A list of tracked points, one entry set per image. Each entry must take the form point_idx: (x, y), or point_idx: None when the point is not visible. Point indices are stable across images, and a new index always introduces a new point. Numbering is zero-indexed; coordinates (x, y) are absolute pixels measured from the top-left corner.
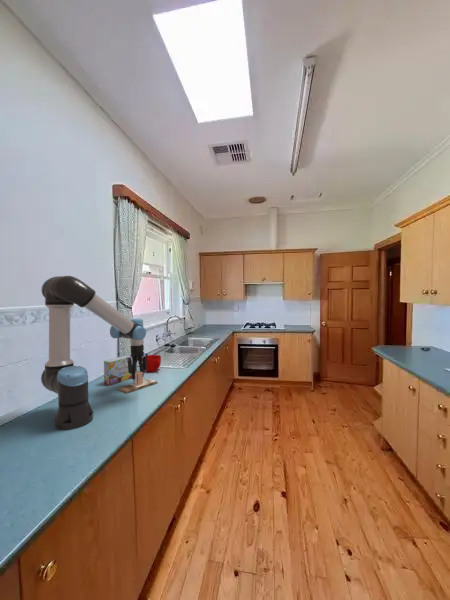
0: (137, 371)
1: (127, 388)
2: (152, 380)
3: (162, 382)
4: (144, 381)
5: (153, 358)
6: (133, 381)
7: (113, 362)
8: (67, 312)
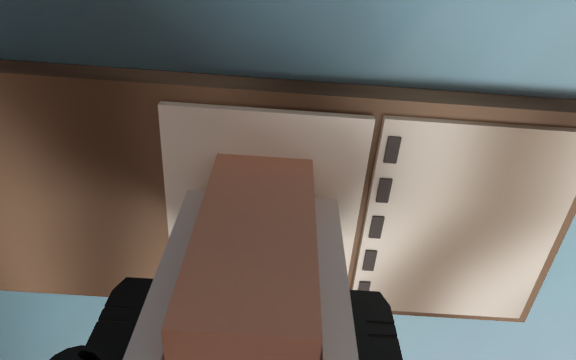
0: (303, 353)
1: (55, 210)
2: (521, 264)
3: (570, 321)
4: (422, 200)
5: None
6: (176, 229)
7: None
8: None
